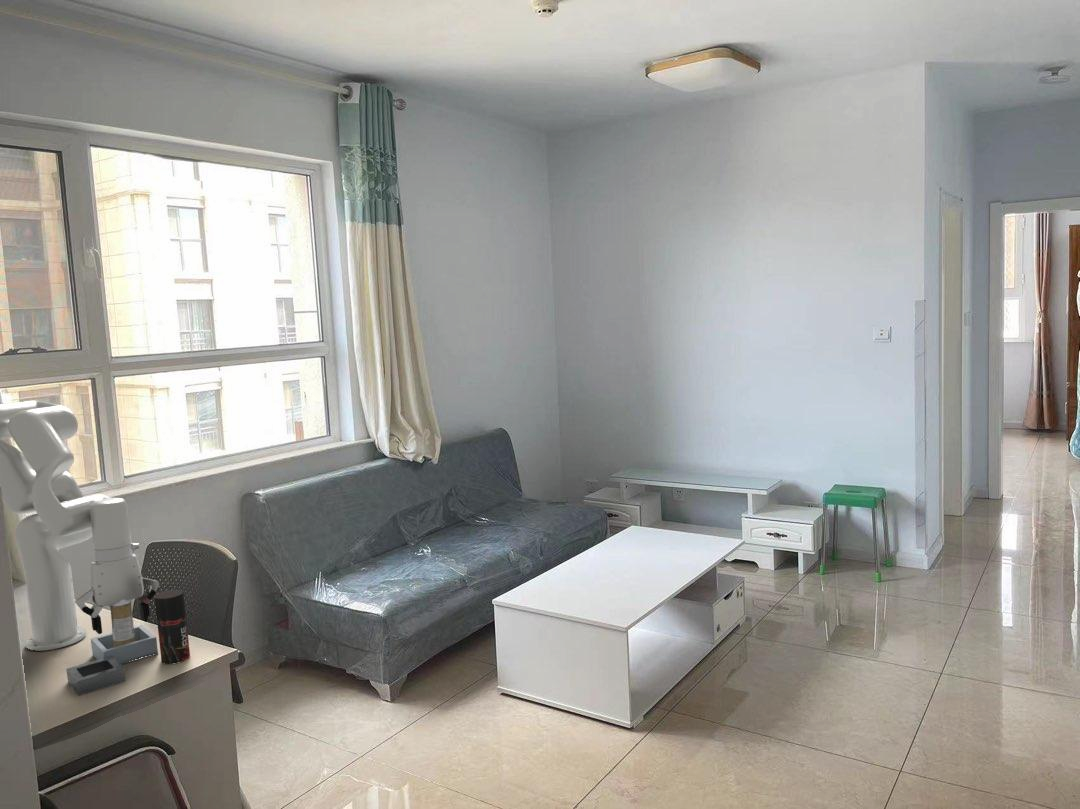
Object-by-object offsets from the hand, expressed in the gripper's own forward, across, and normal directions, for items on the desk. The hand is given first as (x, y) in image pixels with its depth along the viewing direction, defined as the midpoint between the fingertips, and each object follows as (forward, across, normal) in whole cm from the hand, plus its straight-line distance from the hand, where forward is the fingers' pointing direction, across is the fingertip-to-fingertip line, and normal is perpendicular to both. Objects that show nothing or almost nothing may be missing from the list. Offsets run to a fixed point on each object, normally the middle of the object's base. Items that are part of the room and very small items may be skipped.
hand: (122, 626), depth 186 cm
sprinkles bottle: (+6, 0, 0) cm, 6 cm away
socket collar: (+7, +8, +11) cm, 15 cm away
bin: (+7, 0, 0) cm, 7 cm away
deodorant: (+7, -8, +12) cm, 15 cm away
